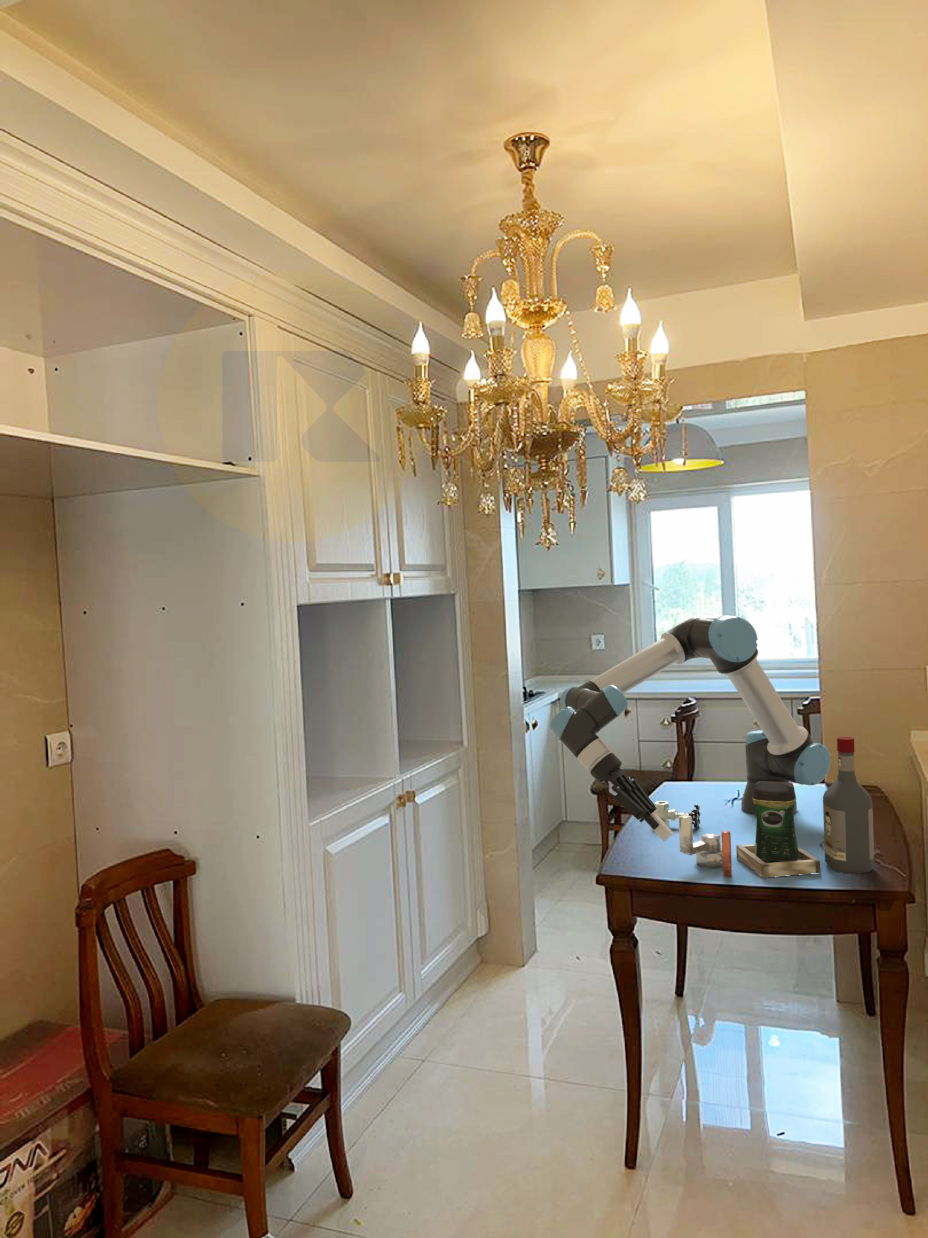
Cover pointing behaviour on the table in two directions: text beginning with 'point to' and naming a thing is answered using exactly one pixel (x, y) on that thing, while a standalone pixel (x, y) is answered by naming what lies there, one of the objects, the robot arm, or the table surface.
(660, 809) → the valve
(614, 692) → the robot arm
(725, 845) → the crank base
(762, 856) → the coffee jar
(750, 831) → the table surface
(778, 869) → the tray
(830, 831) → the liquor
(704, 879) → the table surface
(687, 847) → the crank
